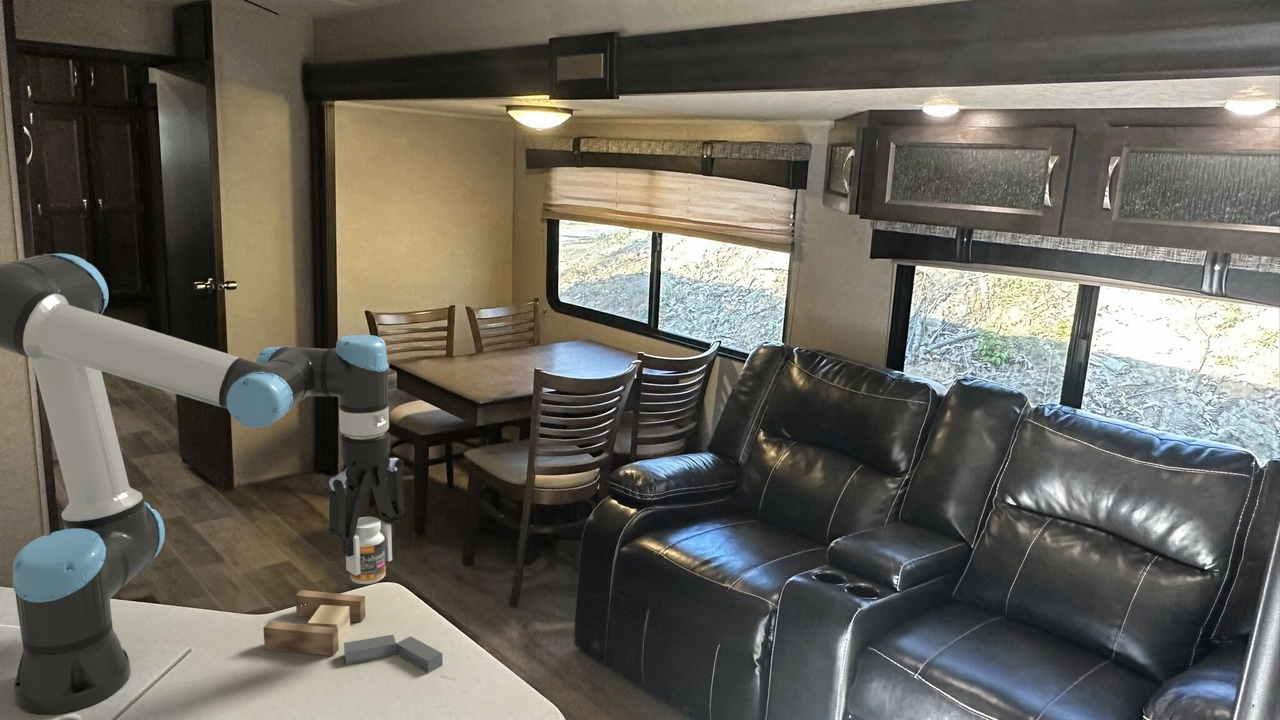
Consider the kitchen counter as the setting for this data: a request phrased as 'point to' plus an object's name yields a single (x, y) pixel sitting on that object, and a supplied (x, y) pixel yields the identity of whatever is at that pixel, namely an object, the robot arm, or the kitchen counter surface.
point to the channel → (308, 635)
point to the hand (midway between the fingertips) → (369, 564)
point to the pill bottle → (370, 551)
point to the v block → (393, 651)
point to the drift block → (332, 618)
